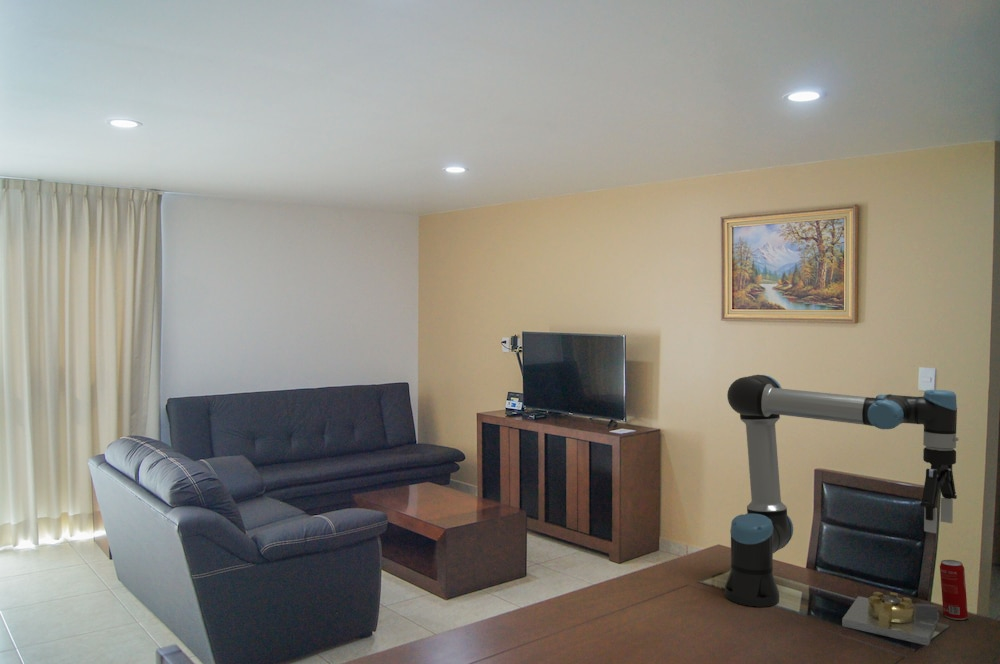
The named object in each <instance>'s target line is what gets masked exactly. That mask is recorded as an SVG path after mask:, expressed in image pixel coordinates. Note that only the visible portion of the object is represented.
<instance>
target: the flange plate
mask: <svg viewBox="0 0 1000 664" xmlns="http://www.w3.org/2000/svg"><path fill="white" fill-rule="evenodd" d="M868 598H869V597H864V596H860V595H859V596H857V597H856V598H855V600H854V601H853V603H852V604H851V606H850V607H849V609H848V610H847V612H846V613H845V614H844V616H843V617H842V619H841V621H842V622H841V625H842V627H844V628H849V629H854V630H858V631H862V632H867V633H871V634H875V635H879V636H884V637H889V638H892V639H897V640H901V641H906V642H908V643H909V642H910V643H914V644H918V645H923V646H927V647H929V646H930V643H931V640H932V638H933V636H934V634H935V631H936V627H937V625H938V624H939V620H940V615H939V613H940V612H938V611H939V610H938V606H937V605H936V604H931V603H914V606H915V610H914V620H913V621H912V622H907V623H896V622H892V623H891V625H890V627H889V629H885V628H880V627H879V619H878V618H876V617H874V616H872V615H871V614H869V612H868Z"/></svg>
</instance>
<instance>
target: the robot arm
mask: <svg viewBox="0 0 1000 664" xmlns="http://www.w3.org/2000/svg"><path fill="white" fill-rule="evenodd" d="M923 393H924V394H923V396H910V395H900V394H899V395H897V394H895V395H894V394H892V393H891V394H890V393H889V394H877V395H876V397H868V396H860V395H859V396H858V395H849V394H839V393H831V392H829V393H828V392H819V391H810V390H809V391H808V390H799V389H798V390H797V389H789V388H782V386H781V384H780V383H779V382H778V381H777V380H776V379H775V378H773V377H772V376H770V375H764V374H752V375H749V376H743V377H740V378H737V379H735V380H734V381H733V382H732V383H731V384H730V386H729V388H728V390H727V402H728V404H729V406H730V407H731V409H732V410H733V411H734V412H736V413H737V414H739V418H740V421H741V422H743V424H745V428H746V429H745V432H746V443H747V445H746V446H747V457H748V470H749V471H748V472H749V483H750V485H749V486H750V496H751V498H750V499H751V501H750V502H749V504H747V506H746V512H747V513H745V514H743V513H742V514H739V515H736V516H735V517H734V518H733V519H732V520H731V522H730V523H731V524H730V530H729V531H730V571H729V574H728V577H727V580H726V582H725V585H724V596H725V598H727V600H729V599H730V601H731V602H732V603H735V604H738V603H739V605H742V604H743V606H746V605H748V606H747V607H753V606H756V607H758V608H764V607H765V608H766V607H772V606H775V605H777V604H778V603H779V602H780V591H779V589H778V586H777V582H776V579H775V576H774V573H773V572H774V571H773V568H774V563H773V562H774V561H773V560H774V559H773V557H774V556H773V555H774V554H775V553H776V552H778V551H780V550H781V549H784V548H785V547H786V546H787V545H788V544H789V542H790V541H791V540H792V538H793V535H794V524H793V521H792V519H791V518H790V516H789V515H788V507H787V505H786V504H784V503H783V502H782V498H781V485H780V473H779V472H780V471H779V469H780V468H779V461H778V459H779V457H778V445H777V443H778V442H777V433H776V423H777V422H778V420H780V419H781V417H780V416H788V417H796V418H803V419H804V418H805V419H813V420H821V421H822V420H823V421H829V422H836V423H837V422H838V423H846V424H855V425H863V426H869V427H875V428H877V429H880V430H892V429H895V428H896V427H898V426H899V425H901V424H909V425H910V424H912V425H923V443H922V445H923V446H924V448H923V456H922V457H923V461H924V462H925V463H927V464H930V468H926V469H925V480H924V486H923V491H922V496H921V497H922V498H921V502H920V504H919V505H920V507H923V508H924V509H923V510H924V511H923V513H924V514H923V523H924V524H923V531H924V532H926V533H931V534H937V523H938V521H937V517H938V515H937V512H938V509H937V507H936V505H937V501H938V498H939V494H940V493H941V496H942V497H940V522H942V523H947V524H953V522H954V521H953V513H954V512H953V511H954V510H953V509H954V508H953V507H954V506H953V505H954V500H956V499H957V497H958V495H957V492H956V485H955V479H954V473H953V472H954V471H953V465H955V464H956V463H957V451H956V450H955V449H956V448H957V442H958V441H959V438H958V437H957V426H958V425H957V424H958V423H957V418H958V407H957V406H958V405H957V394H956V393H955V392H954V391H952V390H944V389H926V390H925V391H924V392H923ZM756 607H755V608H756Z"/></svg>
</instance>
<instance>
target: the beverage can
mask: <svg viewBox="0 0 1000 664" xmlns="http://www.w3.org/2000/svg"><path fill="white" fill-rule="evenodd" d="M939 572H940V573H939V574H940V587H941V597H942V598H941V601H942V612H943V613H942V614H943V615H944V617H946V618H948V619H951V620H956V621H957V620H959V621H964V620H967V618H968V615H969V614H968V601H967V599H968V598H967V588H966V587H967V585H966V575H965V574H966V573H965V567H964V565H963V562H961V561H960V560H959V561H958V560H955V559H942V560H941V561H940V564H939Z"/></svg>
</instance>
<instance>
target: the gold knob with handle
mask: <svg viewBox="0 0 1000 664" xmlns="http://www.w3.org/2000/svg"><path fill="white" fill-rule="evenodd" d="M867 598H868V612H869V614H871V615H872V616H874V617H876V618H878V619H879V627H880V628H885V629H889V627H890V625H891V623H892V622H896V623H907V622H912V621H913V620H914V610H915V603H913V602H912V601H913V600H912V598H910V597H904V596H903V597H899V593H897V592H892V591H891V592H889V594H888V595H886V594H884V593H882V592H880V591H874V592H872V595H871V596H869V597H867Z"/></svg>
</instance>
